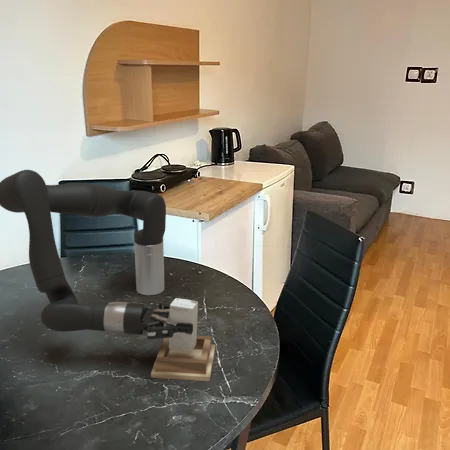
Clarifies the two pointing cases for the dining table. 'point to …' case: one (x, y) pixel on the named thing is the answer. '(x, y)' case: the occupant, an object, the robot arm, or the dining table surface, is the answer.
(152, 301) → the dining table surface
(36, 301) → the dining table surface
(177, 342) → the skincare box
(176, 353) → the socket board
